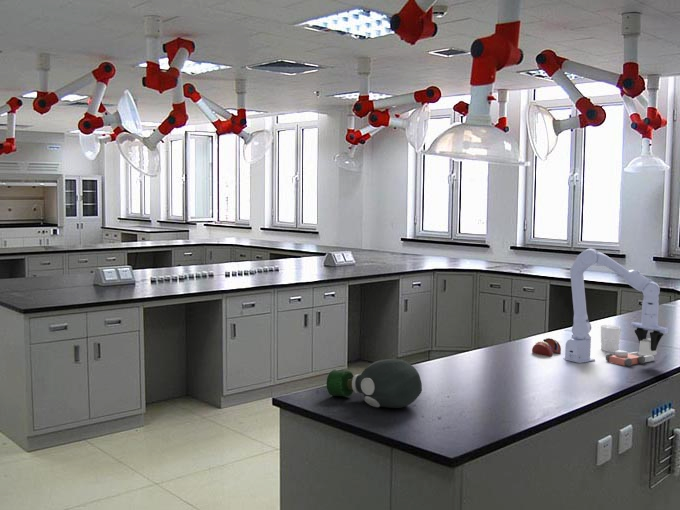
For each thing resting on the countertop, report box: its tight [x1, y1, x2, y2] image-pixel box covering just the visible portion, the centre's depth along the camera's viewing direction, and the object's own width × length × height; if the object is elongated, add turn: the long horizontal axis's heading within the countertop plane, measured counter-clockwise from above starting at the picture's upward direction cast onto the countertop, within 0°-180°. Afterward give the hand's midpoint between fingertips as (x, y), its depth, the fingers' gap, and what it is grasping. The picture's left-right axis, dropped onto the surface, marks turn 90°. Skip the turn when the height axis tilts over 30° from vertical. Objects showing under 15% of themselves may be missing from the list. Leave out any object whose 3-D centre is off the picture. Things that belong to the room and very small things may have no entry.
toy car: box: [605, 349, 655, 367], centre depth 270 cm, size 18×10×4 cm, turn 122°
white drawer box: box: [638, 337, 658, 356], centre depth 261 cm, size 5×4×6 cm
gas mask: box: [325, 358, 423, 409], centre depth 213 cm, size 14×18×30 cm
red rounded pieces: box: [531, 337, 562, 357], centre depth 283 cm, size 8×6×12 cm
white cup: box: [600, 324, 622, 353], centre depth 290 cm, size 8×8×10 cm
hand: (648, 349), depth 261 cm, fingers closed on white drawer box, 4 cm apart
